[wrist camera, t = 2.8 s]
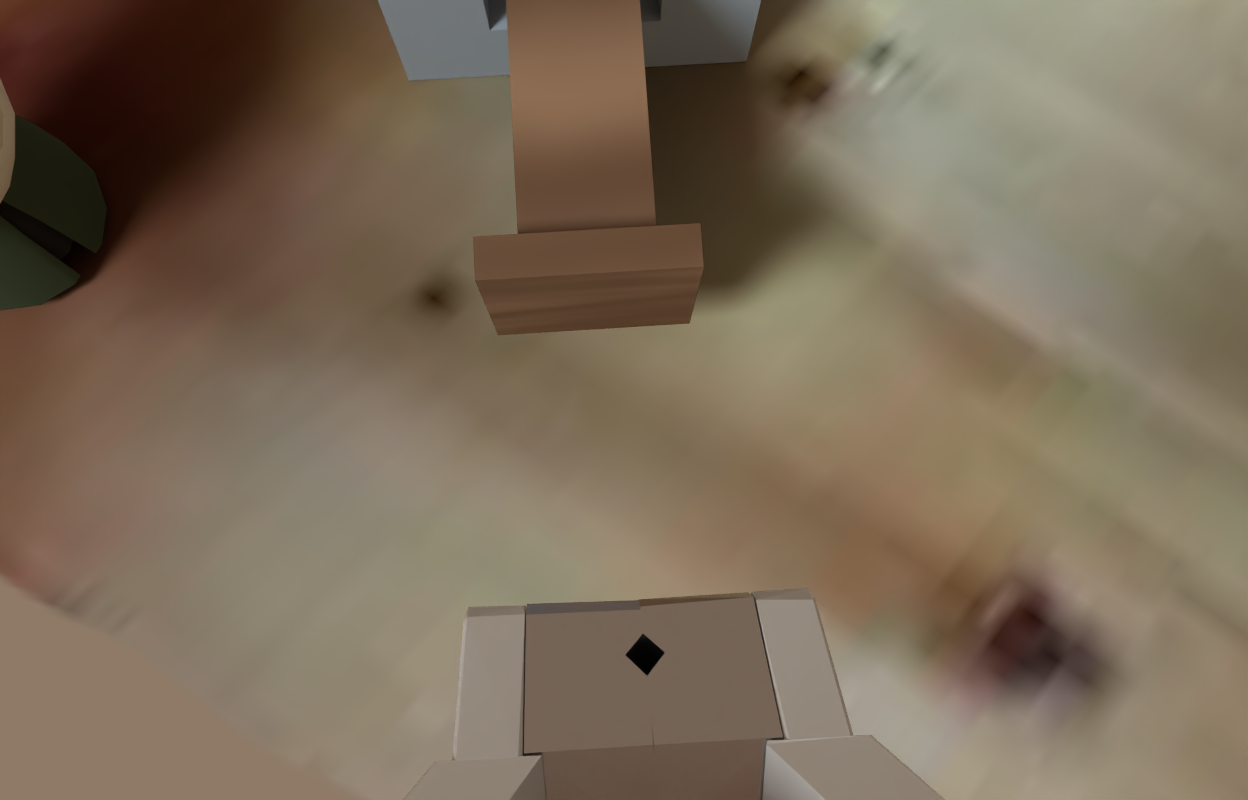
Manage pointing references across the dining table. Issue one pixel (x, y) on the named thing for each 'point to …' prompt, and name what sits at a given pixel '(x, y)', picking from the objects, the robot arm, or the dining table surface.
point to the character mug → (42, 211)
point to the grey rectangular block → (478, 37)
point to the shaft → (583, 182)
